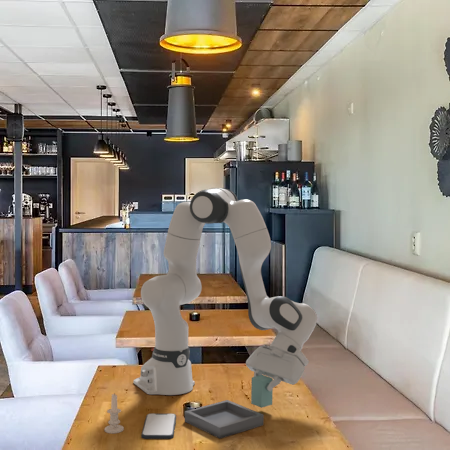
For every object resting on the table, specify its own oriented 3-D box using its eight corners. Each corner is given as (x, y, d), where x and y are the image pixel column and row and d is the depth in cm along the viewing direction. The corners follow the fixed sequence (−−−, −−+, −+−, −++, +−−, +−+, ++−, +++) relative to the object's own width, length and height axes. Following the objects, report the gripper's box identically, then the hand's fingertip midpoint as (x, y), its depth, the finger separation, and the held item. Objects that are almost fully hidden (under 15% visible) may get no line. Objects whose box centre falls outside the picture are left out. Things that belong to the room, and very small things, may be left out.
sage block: (251, 403, 182) (251, 377, 181) (262, 400, 185) (262, 374, 184) (261, 407, 178) (261, 381, 178) (272, 404, 181) (272, 378, 181)
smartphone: (173, 441, 160) (176, 418, 176) (173, 435, 160) (176, 413, 176) (140, 441, 160) (146, 418, 176) (140, 435, 160) (146, 413, 176)
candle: (122, 425, 169) (122, 389, 169) (125, 432, 164) (125, 394, 164) (103, 427, 168) (103, 390, 167) (105, 434, 163) (105, 396, 162)
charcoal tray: (184, 421, 173) (184, 411, 173) (227, 409, 183) (227, 399, 183) (219, 438, 161) (219, 427, 160) (263, 425, 171) (263, 414, 171)
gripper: (256, 338, 193) (232, 373, 187) (303, 350, 177) (279, 390, 172) (266, 349, 196) (243, 384, 190) (313, 363, 180) (289, 402, 175)
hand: (260, 387), depth 181 cm, fingers closed on sage block, 4 cm apart
